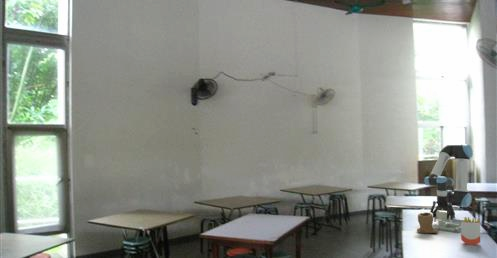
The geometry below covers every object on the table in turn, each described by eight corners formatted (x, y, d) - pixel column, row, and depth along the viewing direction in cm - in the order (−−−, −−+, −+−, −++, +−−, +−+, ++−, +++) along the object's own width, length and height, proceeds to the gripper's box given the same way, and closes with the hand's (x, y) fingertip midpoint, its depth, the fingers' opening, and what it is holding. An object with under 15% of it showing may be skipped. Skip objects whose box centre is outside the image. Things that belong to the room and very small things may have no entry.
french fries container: (461, 242, 281) (460, 216, 281) (479, 243, 277) (478, 216, 277) (462, 244, 276) (461, 217, 277) (480, 245, 273) (479, 218, 273)
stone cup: (417, 234, 306) (417, 213, 306) (416, 230, 317) (415, 211, 317) (440, 235, 301) (439, 214, 301) (437, 231, 312) (437, 211, 313)
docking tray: (444, 226, 331) (444, 222, 331) (466, 228, 320) (466, 225, 320) (436, 229, 319) (436, 226, 319) (459, 232, 308) (458, 229, 308)
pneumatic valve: (449, 225, 331) (449, 210, 331) (433, 224, 337) (433, 209, 337) (450, 224, 336) (449, 209, 336) (434, 223, 342) (434, 208, 342)
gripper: (425, 194, 342) (426, 221, 342) (455, 197, 326) (456, 225, 325) (429, 193, 347) (429, 220, 347) (459, 196, 331) (459, 223, 331)
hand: (442, 222), depth 336 cm, fingers closed on pneumatic valve, 11 cm apart
